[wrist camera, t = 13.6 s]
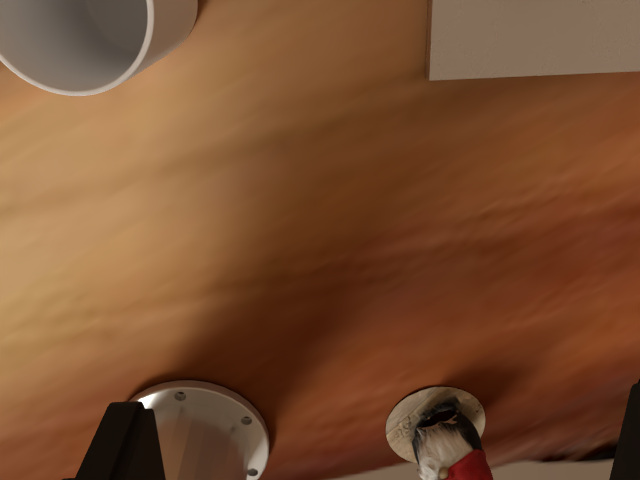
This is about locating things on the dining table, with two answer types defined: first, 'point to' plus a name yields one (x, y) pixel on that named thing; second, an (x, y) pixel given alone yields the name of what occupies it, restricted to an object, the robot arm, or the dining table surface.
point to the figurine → (440, 435)
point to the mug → (89, 40)
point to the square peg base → (531, 38)
